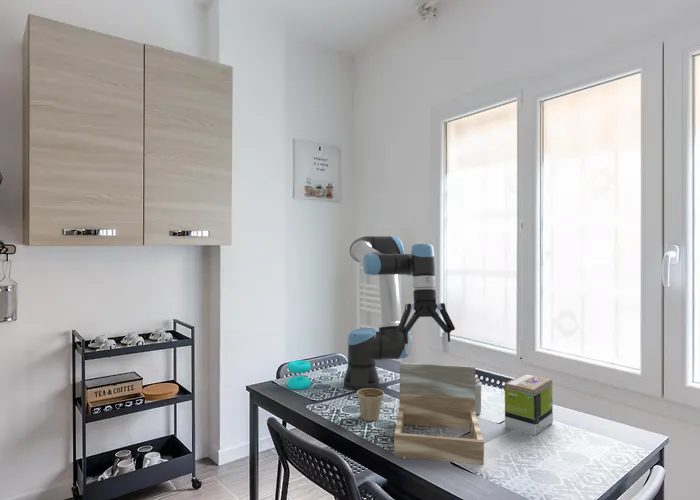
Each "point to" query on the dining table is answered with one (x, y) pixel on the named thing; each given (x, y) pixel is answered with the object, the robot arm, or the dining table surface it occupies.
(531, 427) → the tea box
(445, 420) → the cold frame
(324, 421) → the dining table surface
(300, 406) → the dining table surface
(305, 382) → the donuts
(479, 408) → the can
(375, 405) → the flower pot
